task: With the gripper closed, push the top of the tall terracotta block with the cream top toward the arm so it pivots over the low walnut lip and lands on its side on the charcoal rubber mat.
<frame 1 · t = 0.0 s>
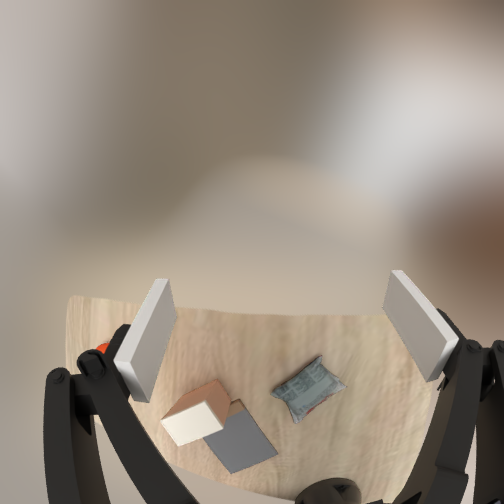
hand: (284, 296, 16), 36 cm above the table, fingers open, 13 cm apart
terracotta block: (206, 398, 47), on the table
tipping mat: (236, 440, 45), on the table
packaged food: (307, 388, 48), on the table
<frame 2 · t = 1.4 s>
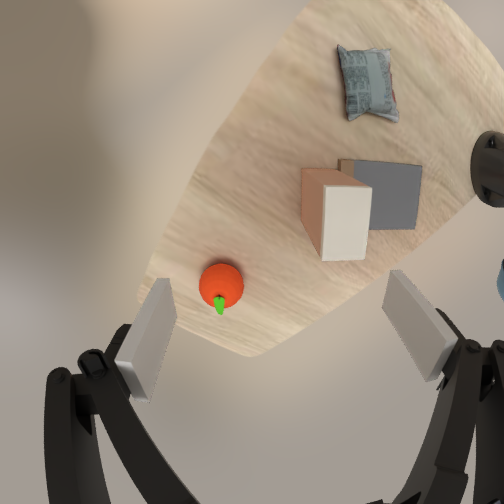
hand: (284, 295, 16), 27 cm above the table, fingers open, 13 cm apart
terracotta block: (317, 194, 40), on the table
clementine: (223, 277, 46), on the table
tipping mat: (383, 196, 40), on the table
packaged food: (365, 84, 33), on the table
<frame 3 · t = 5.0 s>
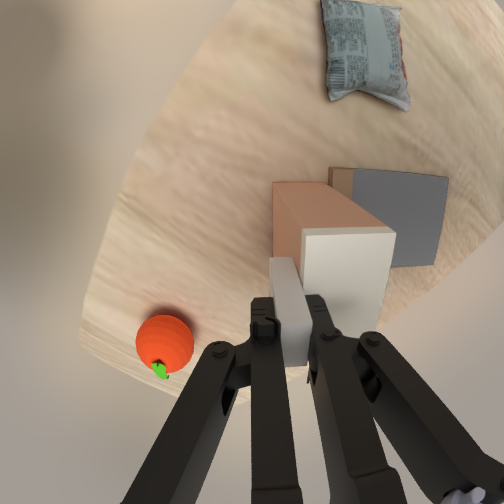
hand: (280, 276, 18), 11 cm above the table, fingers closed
terracotta block: (297, 221, 27), on the table, touching gripper
clementine: (172, 327, 33), on the table
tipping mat: (394, 221, 27), on the table
packaged food: (360, 53, 21), on the table
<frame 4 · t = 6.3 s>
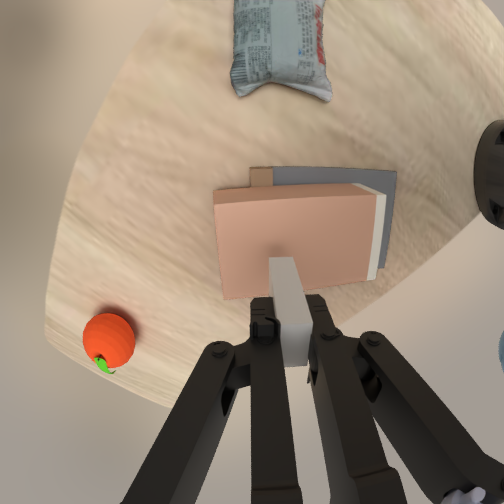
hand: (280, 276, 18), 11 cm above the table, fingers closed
terracotta block: (217, 243, 23), point 5 cm above the table, tilted 97°, touching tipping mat
clementine: (119, 326, 33), on the table
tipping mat: (330, 221, 27), on the table
packaged food: (282, 44, 20), on the table
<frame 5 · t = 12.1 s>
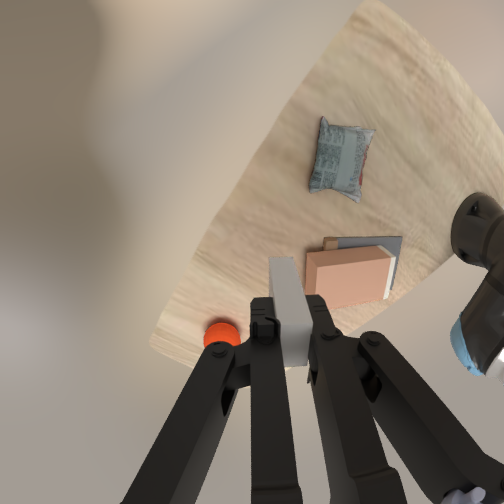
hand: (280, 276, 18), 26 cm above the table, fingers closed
terracotta block: (310, 282, 43), point 5 cm above the table, tilted 97°, touching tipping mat
clementine: (223, 330, 53), on the table
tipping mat: (363, 265, 47), on the table
packaged food: (338, 158, 40), on the table
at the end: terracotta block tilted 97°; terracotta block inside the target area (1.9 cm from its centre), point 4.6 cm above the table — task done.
